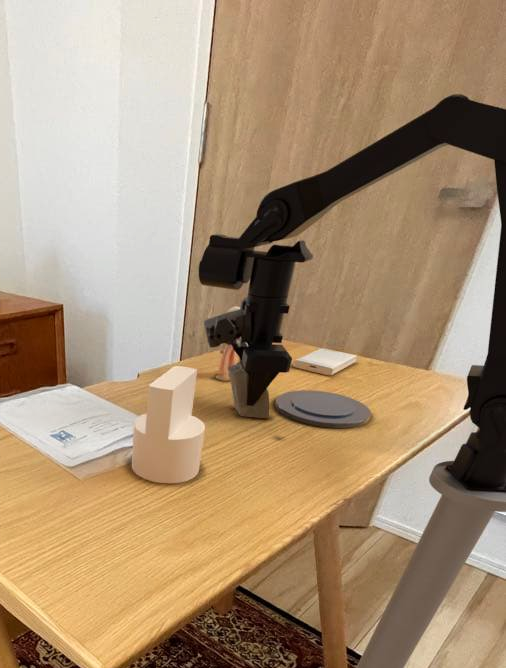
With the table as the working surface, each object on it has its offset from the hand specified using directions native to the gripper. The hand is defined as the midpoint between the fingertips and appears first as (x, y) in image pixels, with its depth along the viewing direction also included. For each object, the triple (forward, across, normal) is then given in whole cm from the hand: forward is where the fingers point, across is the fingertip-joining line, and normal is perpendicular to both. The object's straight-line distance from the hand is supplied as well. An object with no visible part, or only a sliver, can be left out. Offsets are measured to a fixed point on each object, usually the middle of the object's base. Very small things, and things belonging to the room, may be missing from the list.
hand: (246, 398), depth 81 cm
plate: (+2, -2, +13) cm, 13 cm away
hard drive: (+2, -28, +21) cm, 35 cm away
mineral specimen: (+2, 0, 0) cm, 2 cm away
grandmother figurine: (+2, -18, -1) cm, 18 cm away
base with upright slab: (+2, +21, -14) cm, 25 cm away
